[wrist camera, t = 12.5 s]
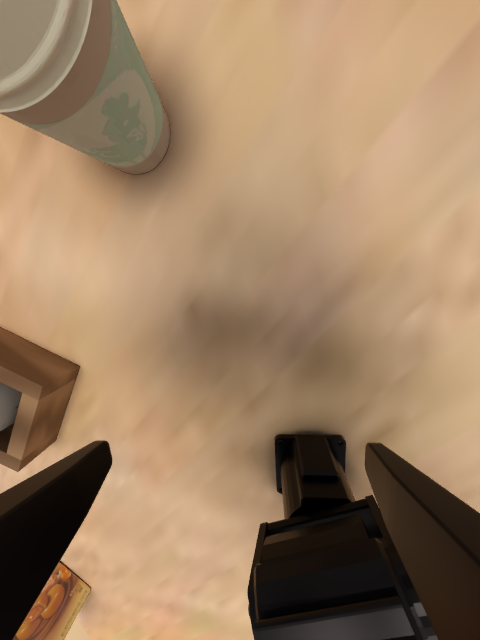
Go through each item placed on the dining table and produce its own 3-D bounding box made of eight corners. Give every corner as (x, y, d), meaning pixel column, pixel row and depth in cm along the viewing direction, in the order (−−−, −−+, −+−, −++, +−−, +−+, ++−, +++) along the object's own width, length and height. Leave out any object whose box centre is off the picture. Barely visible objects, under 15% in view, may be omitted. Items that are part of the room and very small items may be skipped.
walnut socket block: (55, 440, 25) (17, 472, 21) (-28, 400, 25) (-80, 424, 21) (79, 366, 23) (42, 386, 19) (-12, 321, 23) (-68, 332, 19)
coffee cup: (97, 200, 19) (-158, 97, 8) (69, 79, 17) (-321, -302, 6) (196, 184, 18) (77, 35, 7) (177, 53, 16) (-31, -472, 5)
